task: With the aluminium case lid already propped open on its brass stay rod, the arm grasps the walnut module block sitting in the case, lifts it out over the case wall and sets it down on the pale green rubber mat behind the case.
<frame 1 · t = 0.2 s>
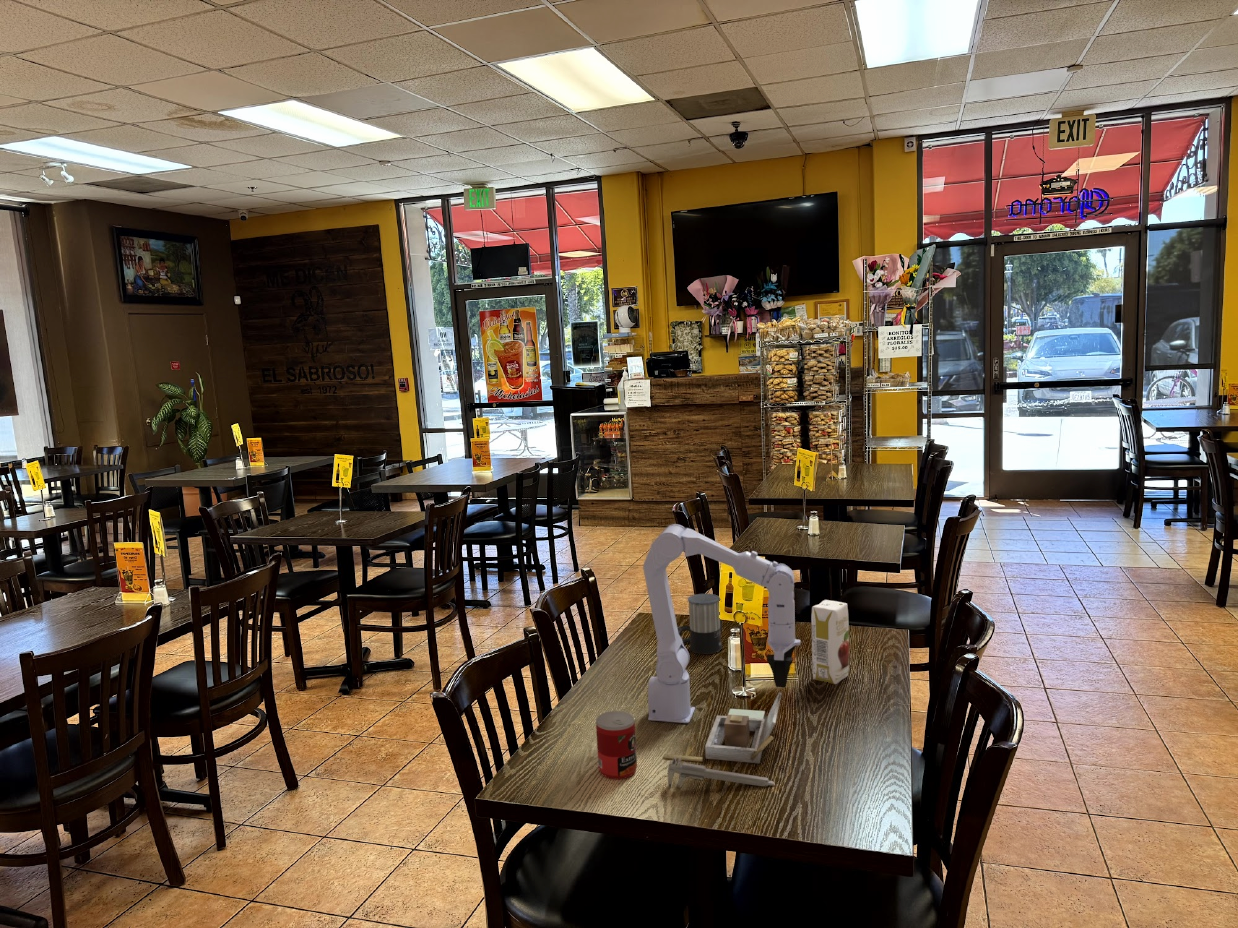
hand: (782, 679, 184), 10 cm above the table, tool pointing down, fingers open, 7 cm apart
milk frother: (695, 646, 237), on the table
juice carton: (830, 678, 209), on the table
walnut module block: (737, 744, 176), resting in aluminium case
green rubber mat: (745, 718, 188), on the table
canned food: (617, 771, 168), on the table
propped lid: (763, 745, 175), resting on aluminium case
aluminium case: (737, 743, 176), on the table
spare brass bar: (683, 760, 171), on the table
caliper: (721, 787, 160), on the table
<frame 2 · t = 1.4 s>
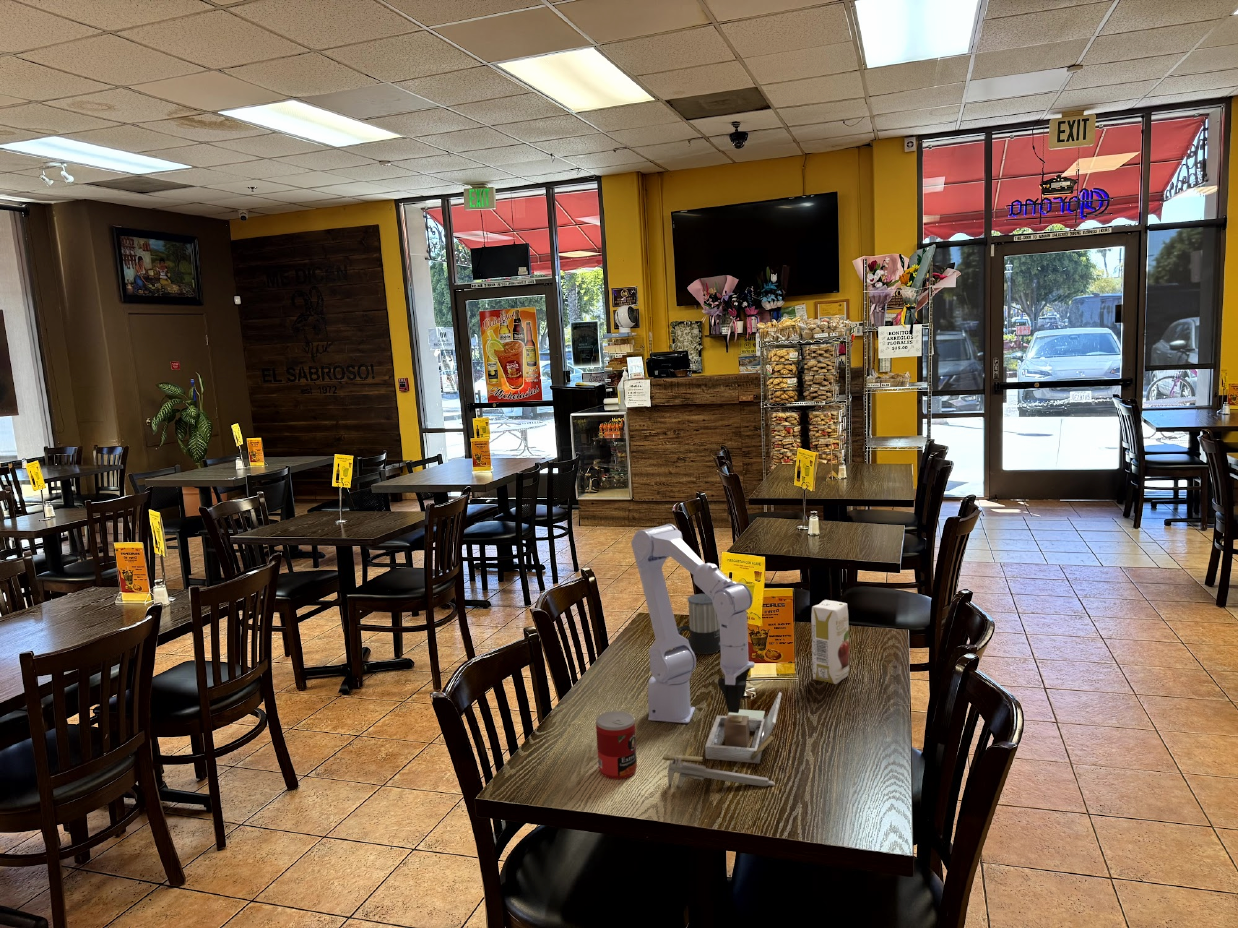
hand: (736, 704, 175), 9 cm above the table, tool pointing down, fingers open, 7 cm apart
nothing on the table moved.
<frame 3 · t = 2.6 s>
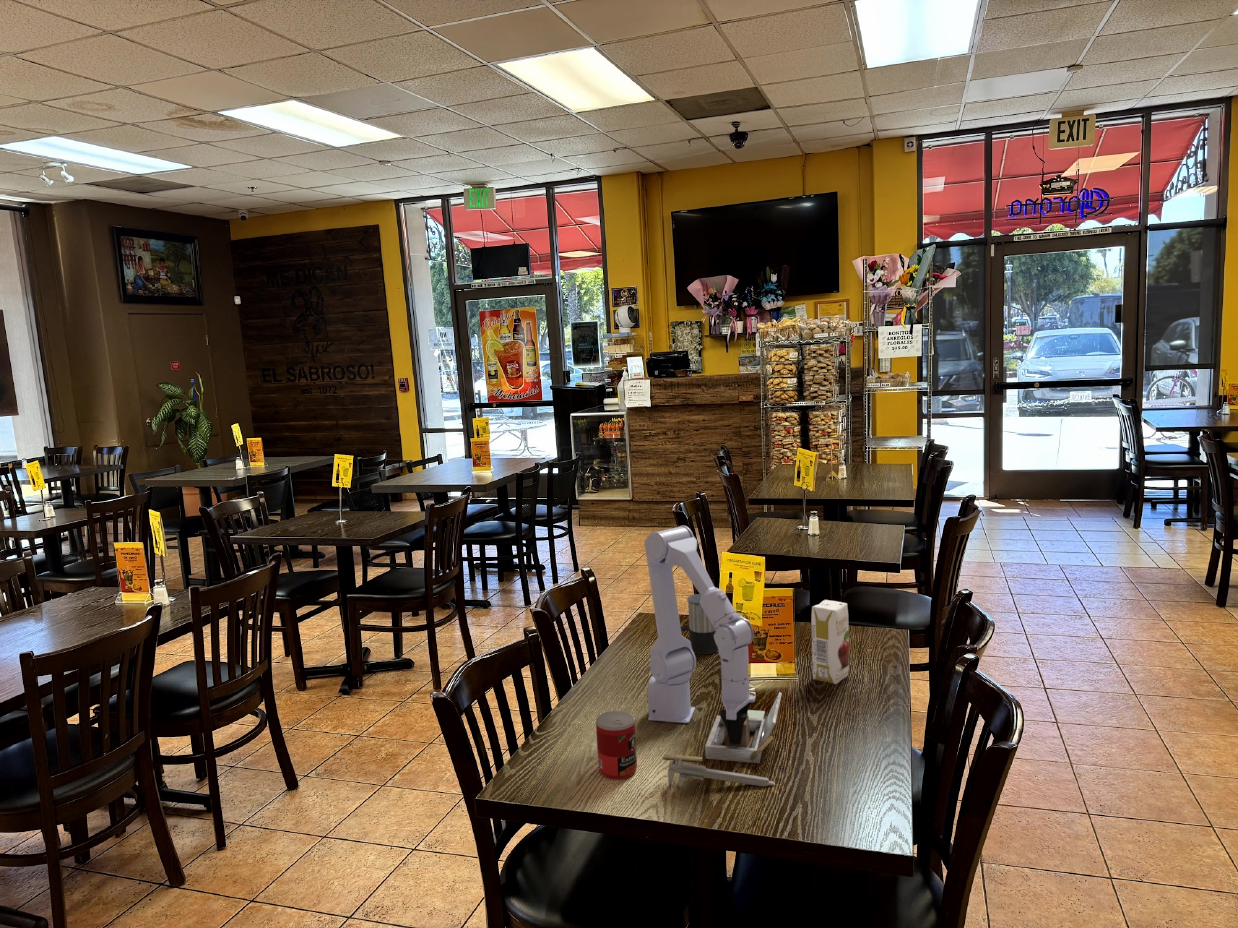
hand: (737, 737, 176), 1 cm above the table, tool pointing down, fingers closed on walnut module block, 4 cm apart
walnut module block: (737, 743, 176), resting in aluminium case, touching gripper
everything else where it was.
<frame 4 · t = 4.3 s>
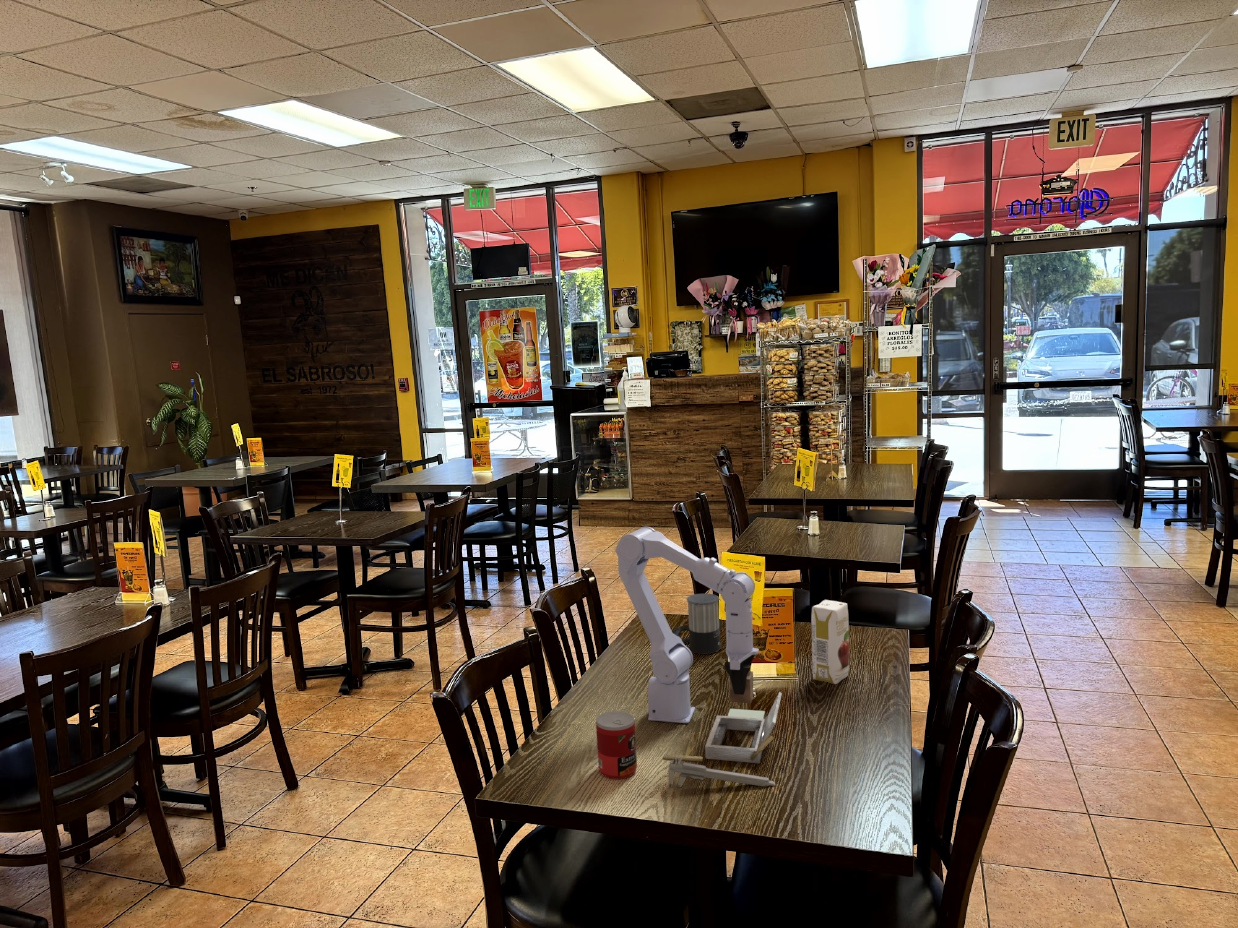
hand: (741, 689, 183), 9 cm above the table, tool pointing down, fingers closed on walnut module block, 4 cm apart
walnut module block: (741, 698, 183), point 7 cm above the table, touching gripper
everything else where it was.
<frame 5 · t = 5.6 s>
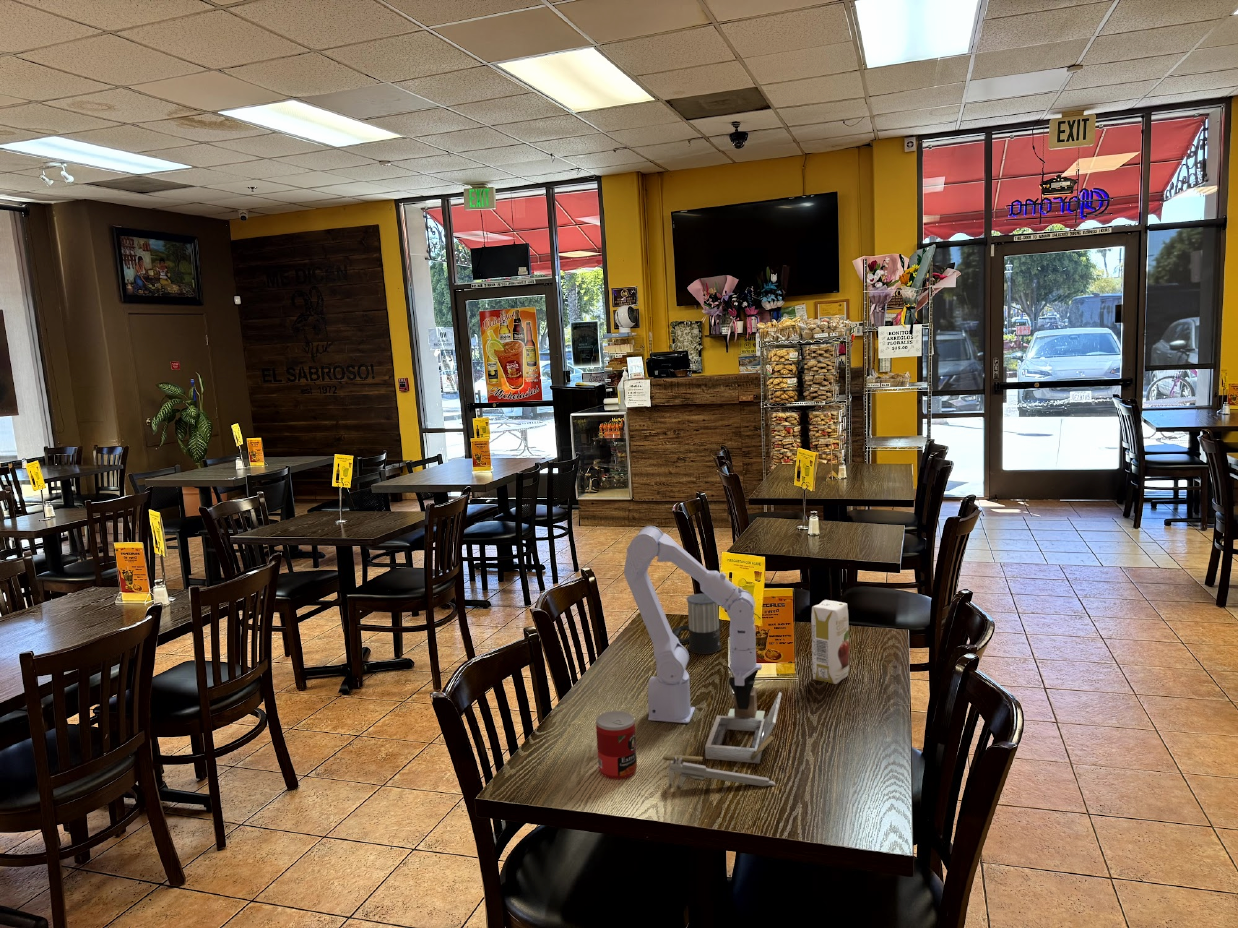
hand: (744, 703, 188), 3 cm above the table, tool pointing down, fingers closed on walnut module block, 4 cm apart
walnut module block: (745, 713, 188), point 1 cm above the table, touching gripper
everything else where it was.
when the fingers open (3 cm above the table, at t = 6.3 s): walnut module block stays where it is, resting on green rubber mat.
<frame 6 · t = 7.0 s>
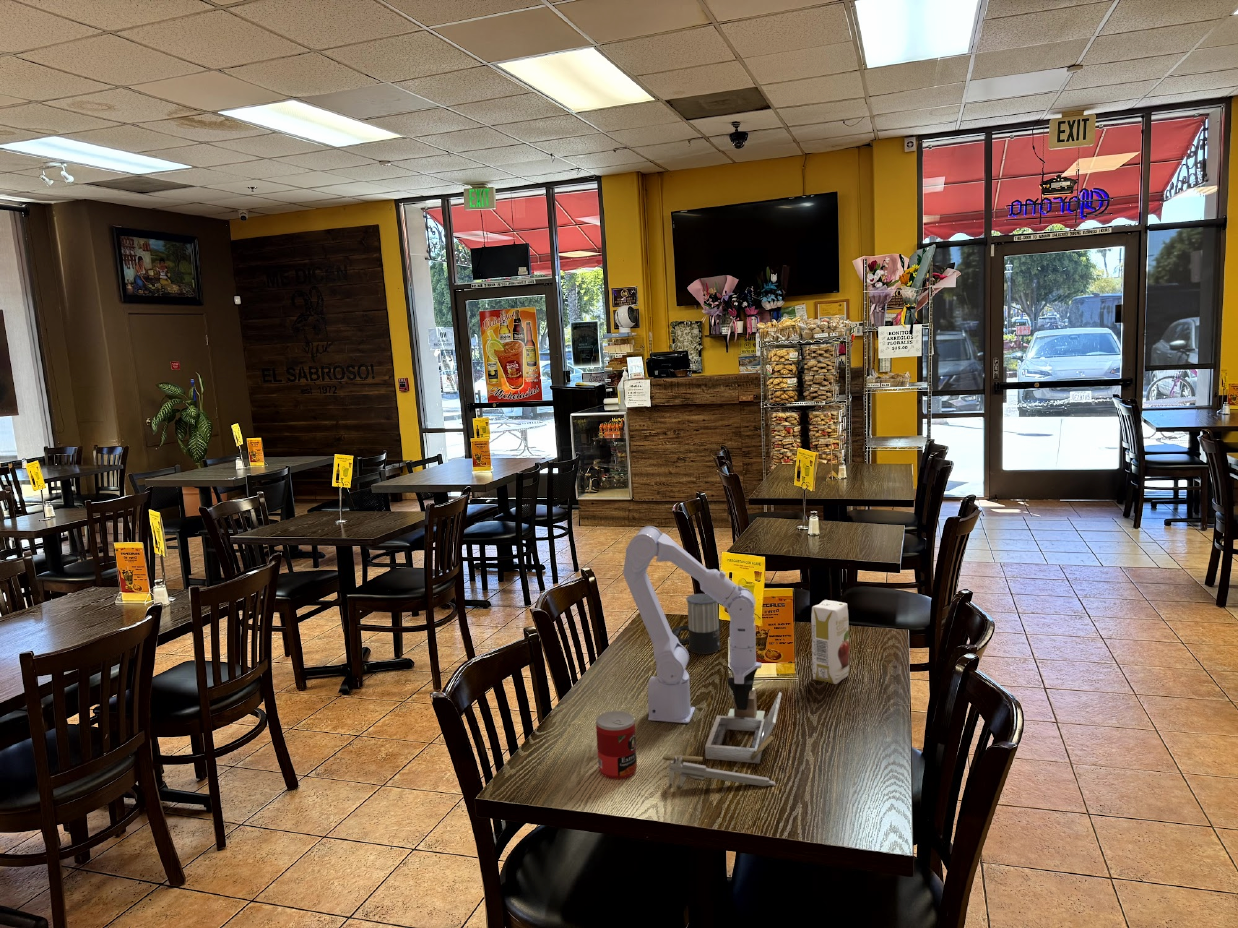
hand: (744, 701, 188), 4 cm above the table, tool pointing down, fingers open, 7 cm apart
walnut module block: (745, 717, 188), resting on green rubber mat
everything else where it was.
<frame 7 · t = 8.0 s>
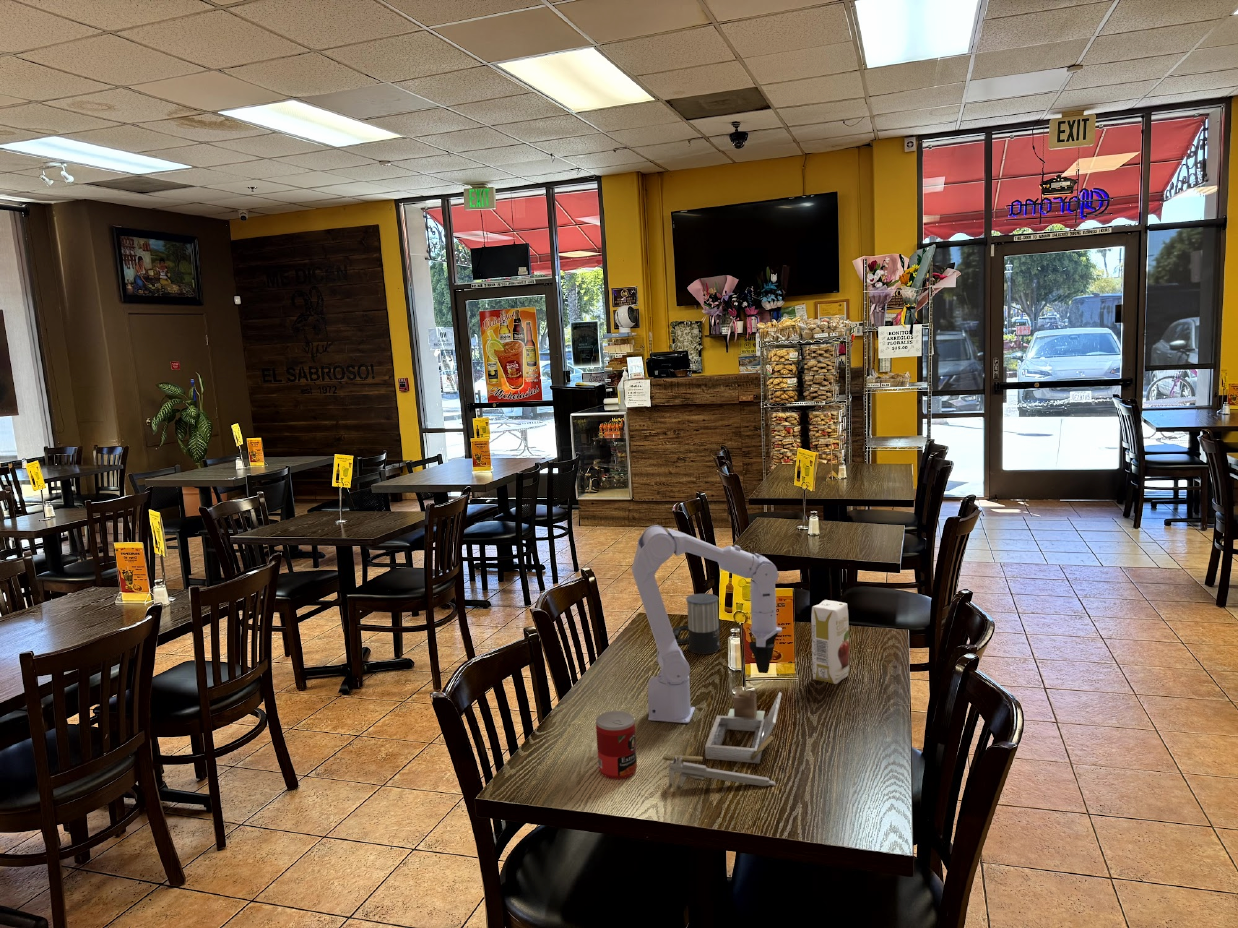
hand: (765, 666, 193), 10 cm above the table, tool pointing down, fingers open, 7 cm apart
nothing on the table moved.
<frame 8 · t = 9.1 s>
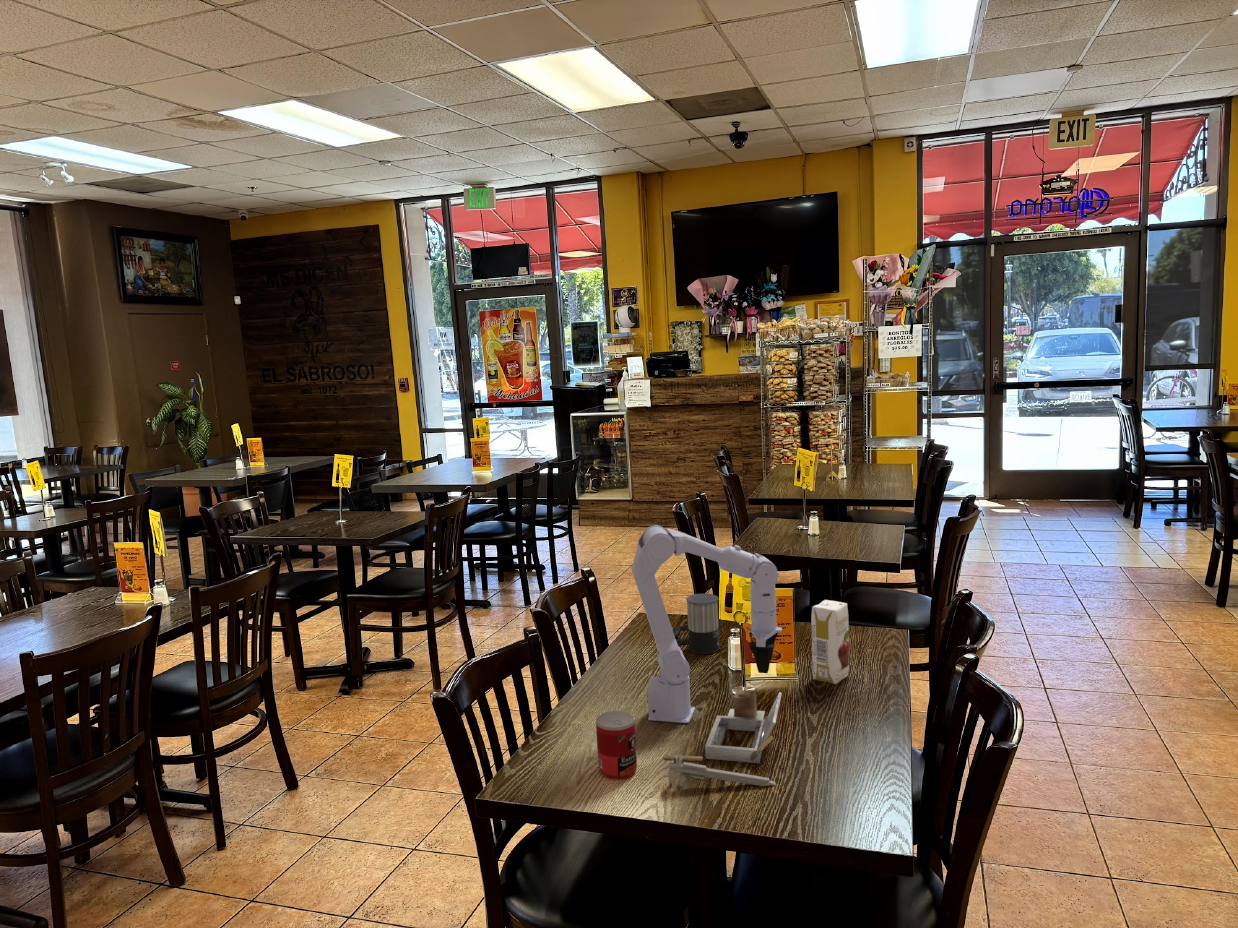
hand: (765, 666, 193), 10 cm above the table, tool pointing down, fingers open, 7 cm apart
nothing on the table moved.
at the end: walnut module block inside the target area (0.1 cm from its centre), resting on green rubber mat; walnut module block touching green rubber mat; the gripper is holding nothing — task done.
